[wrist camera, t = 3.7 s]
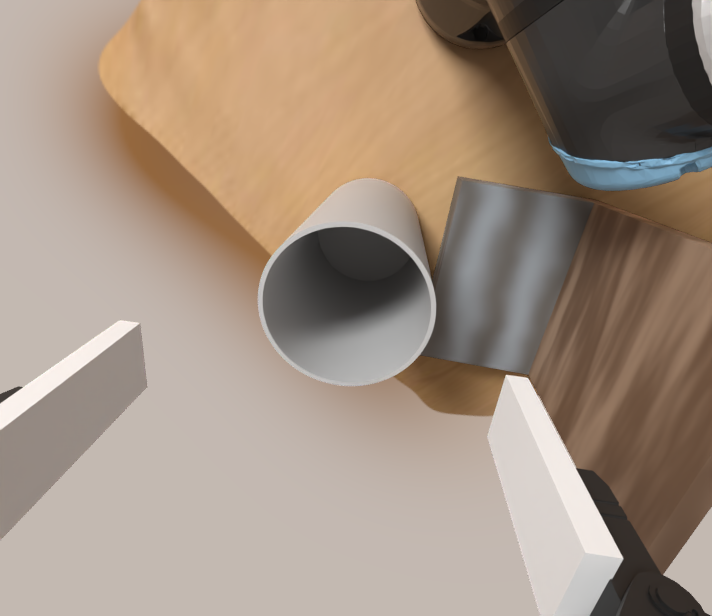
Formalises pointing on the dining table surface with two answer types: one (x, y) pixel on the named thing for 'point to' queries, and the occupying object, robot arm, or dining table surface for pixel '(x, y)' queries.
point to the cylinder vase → (351, 288)
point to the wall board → (591, 338)
